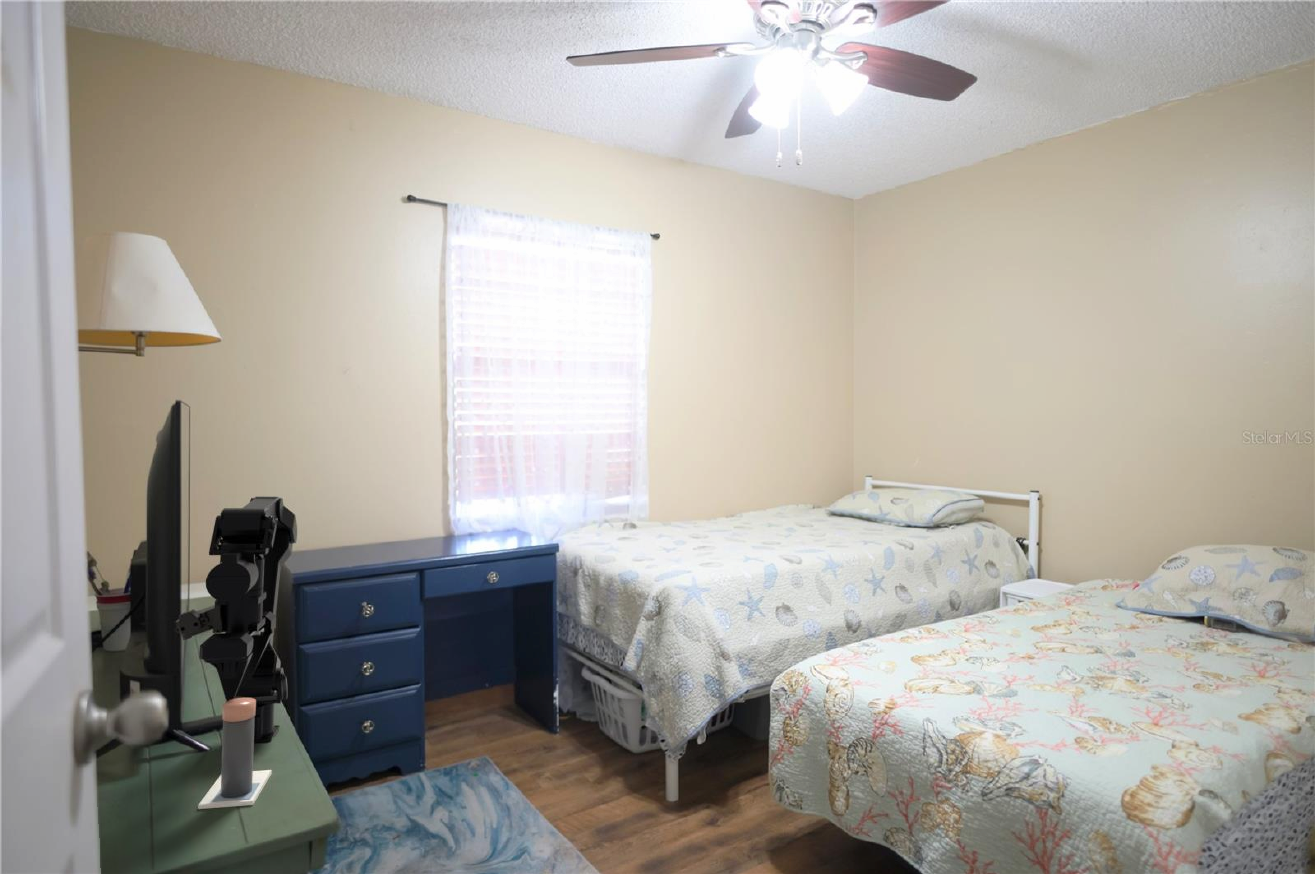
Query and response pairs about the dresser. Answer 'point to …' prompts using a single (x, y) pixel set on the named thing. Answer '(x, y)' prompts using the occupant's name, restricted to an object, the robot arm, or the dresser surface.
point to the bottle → (237, 747)
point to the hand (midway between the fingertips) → (238, 689)
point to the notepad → (216, 800)
